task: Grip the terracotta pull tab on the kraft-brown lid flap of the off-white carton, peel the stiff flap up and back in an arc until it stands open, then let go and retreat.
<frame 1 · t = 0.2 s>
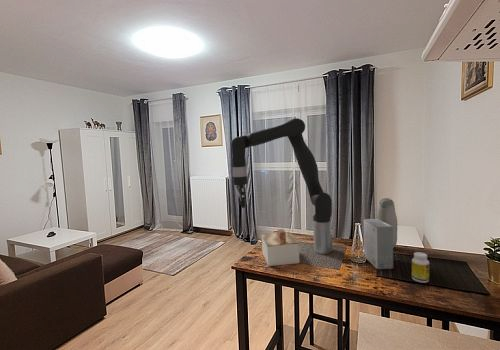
hand: (241, 205, 137), 29 cm above the table, fingers open, 8 cm apart
flap: (278, 233, 138), point 13 cm above the table, hinge at 0.0°
carton: (279, 257, 140), on the table
grey bottle: (386, 248, 144), on the table
pill bottle: (420, 280, 110), on the table
hard drive box: (377, 262, 128), on the table
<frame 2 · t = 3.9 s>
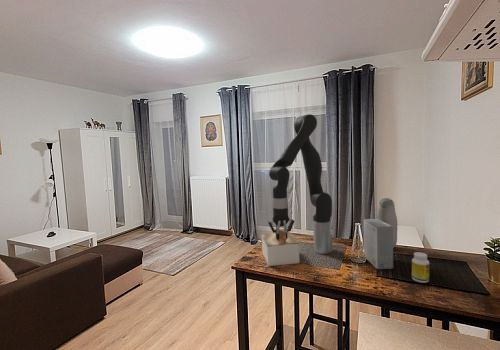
hand: (281, 239, 132), 12 cm above the table, fingers closed on flap, 3 cm apart
flap: (278, 233, 138), point 13 cm above the table, hinge at 0.0°, touching gripper
everything else where it was.
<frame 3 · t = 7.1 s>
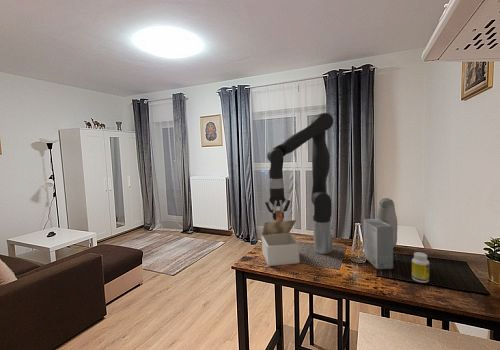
hand: (278, 219, 137), 21 cm above the table, fingers closed on flap, 3 cm apart
flap: (276, 222, 142), point 18 cm above the table, hinge at 36.3°, touching gripper
everything else where it was.
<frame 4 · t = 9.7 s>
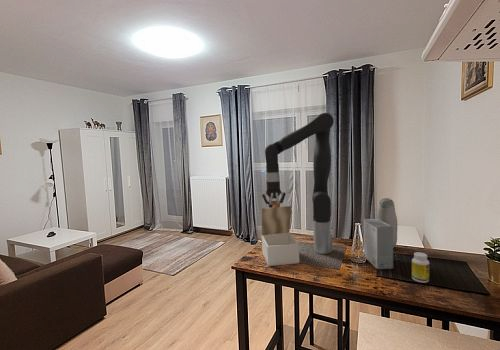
hand: (274, 210, 146), 23 cm above the table, fingers open, 3 cm apart
flap: (274, 217, 146), point 20 cm above the table, hinge at 67.3°
everything else where it was.
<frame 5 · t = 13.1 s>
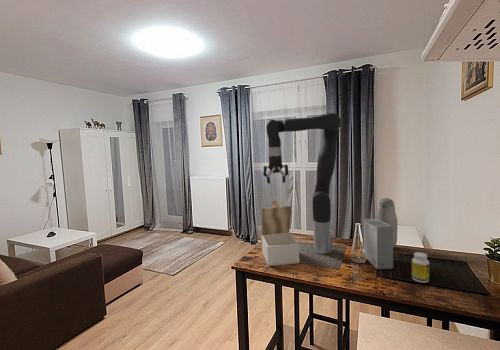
hand: (276, 183, 151), 38 cm above the table, fingers open, 8 cm apart
nothing on the table moved.
at the end: flap at +67° (first picture: +0°) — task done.
